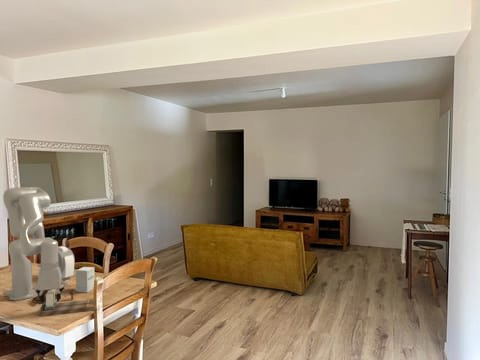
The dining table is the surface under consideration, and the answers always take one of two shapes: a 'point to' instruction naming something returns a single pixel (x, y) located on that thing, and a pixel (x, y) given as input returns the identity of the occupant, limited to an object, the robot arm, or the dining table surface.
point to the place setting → (45, 297)
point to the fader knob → (50, 300)
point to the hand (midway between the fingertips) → (50, 301)
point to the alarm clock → (66, 262)
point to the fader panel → (68, 308)
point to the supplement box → (85, 279)
